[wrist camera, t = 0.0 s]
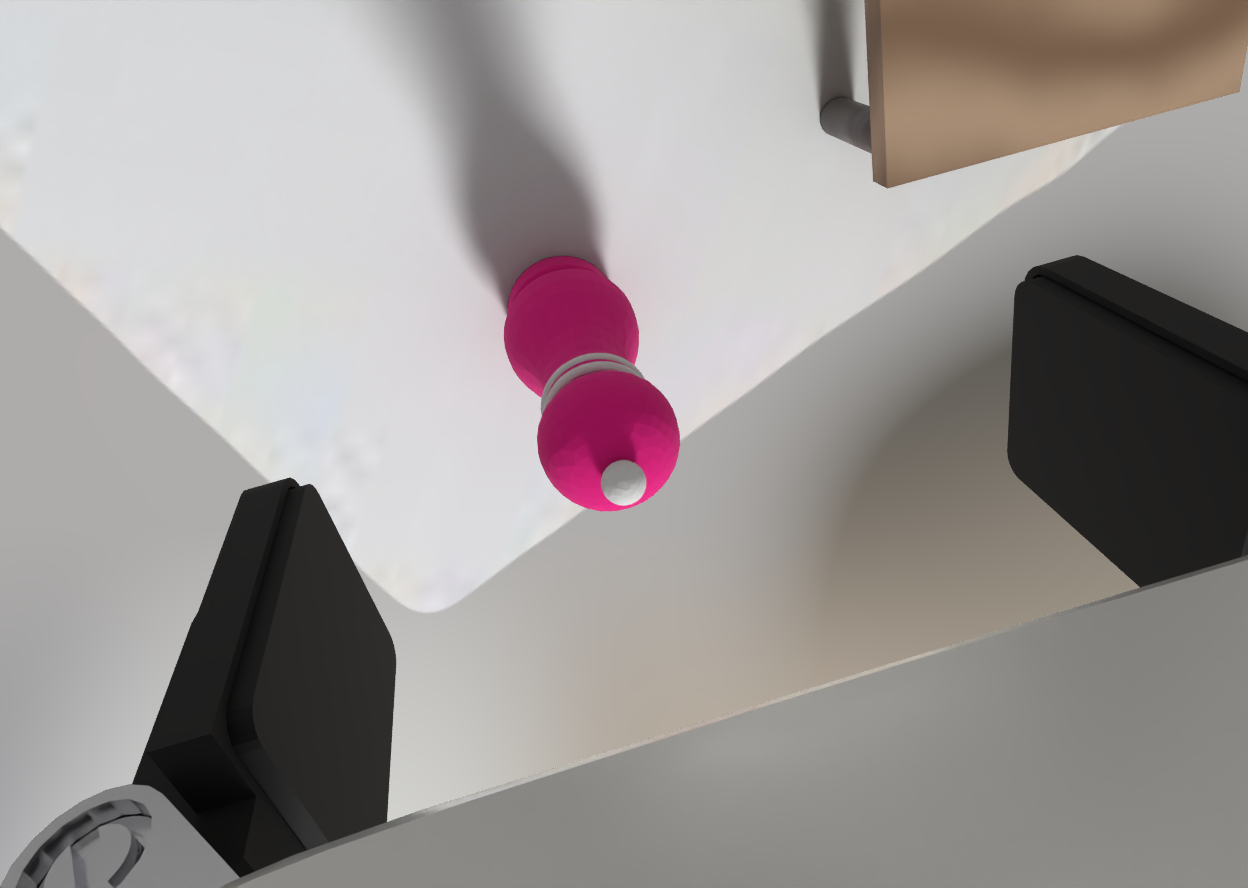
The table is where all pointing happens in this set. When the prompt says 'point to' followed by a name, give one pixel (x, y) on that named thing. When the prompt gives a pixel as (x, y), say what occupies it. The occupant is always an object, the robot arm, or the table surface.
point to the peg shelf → (1027, 74)
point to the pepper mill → (589, 386)
